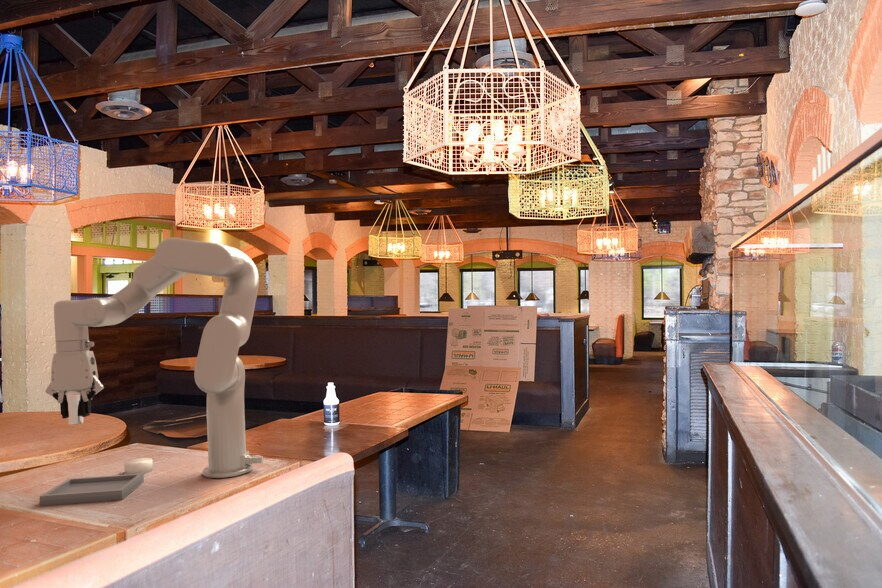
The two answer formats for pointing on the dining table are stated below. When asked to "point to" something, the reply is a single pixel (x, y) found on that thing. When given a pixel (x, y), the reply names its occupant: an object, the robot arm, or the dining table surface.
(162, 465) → the dining table surface
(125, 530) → the dining table surface
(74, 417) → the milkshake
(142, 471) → the cream domed disc
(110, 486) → the grey tray
